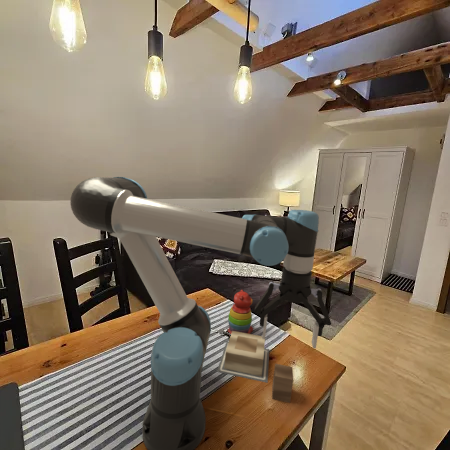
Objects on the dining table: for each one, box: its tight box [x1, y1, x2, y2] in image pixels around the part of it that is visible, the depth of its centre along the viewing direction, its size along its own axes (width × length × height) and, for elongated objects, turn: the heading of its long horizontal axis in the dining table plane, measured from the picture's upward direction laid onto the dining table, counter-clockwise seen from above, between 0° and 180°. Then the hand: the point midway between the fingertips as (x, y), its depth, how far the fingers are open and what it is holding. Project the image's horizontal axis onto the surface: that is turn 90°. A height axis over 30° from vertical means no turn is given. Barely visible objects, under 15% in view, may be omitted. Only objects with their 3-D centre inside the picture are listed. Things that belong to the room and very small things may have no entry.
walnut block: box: [271, 363, 294, 404], centre depth 74 cm, size 5×5×8 cm
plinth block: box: [224, 331, 266, 376], centre depth 87 cm, size 12×12×6 cm
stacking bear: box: [227, 289, 254, 334], centre depth 101 cm, size 11×10×18 cm
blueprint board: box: [216, 340, 270, 383], centre depth 87 cm, size 16×16×1 cm
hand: (288, 340), depth 71 cm, fingers open, 13 cm apart
